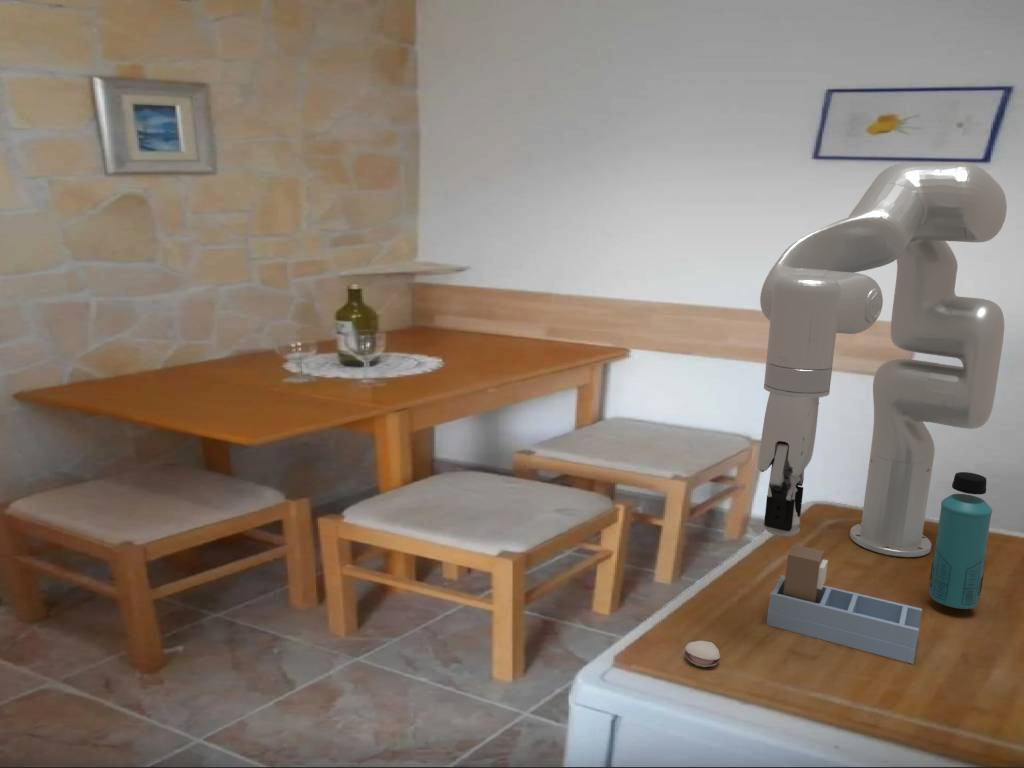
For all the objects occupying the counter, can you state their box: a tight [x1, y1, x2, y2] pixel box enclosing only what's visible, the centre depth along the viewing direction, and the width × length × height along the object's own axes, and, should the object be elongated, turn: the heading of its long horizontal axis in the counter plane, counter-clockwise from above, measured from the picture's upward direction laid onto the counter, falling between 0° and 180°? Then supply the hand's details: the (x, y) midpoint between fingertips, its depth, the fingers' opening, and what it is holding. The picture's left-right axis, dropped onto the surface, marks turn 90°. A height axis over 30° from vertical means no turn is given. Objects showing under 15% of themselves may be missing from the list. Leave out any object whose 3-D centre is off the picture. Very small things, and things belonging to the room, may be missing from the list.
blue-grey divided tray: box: [766, 544, 923, 665], centre depth 108 cm, size 7×18×10 cm, turn 60°
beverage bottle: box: [927, 471, 993, 610], centre depth 115 cm, size 6×7×20 cm
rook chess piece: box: [763, 469, 801, 537], centre depth 102 cm, size 4×4×8 cm
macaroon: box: [684, 640, 721, 668], centre depth 102 cm, size 4×5×2 cm
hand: (782, 520), depth 102 cm, fingers closed on rook chess piece, 4 cm apart
